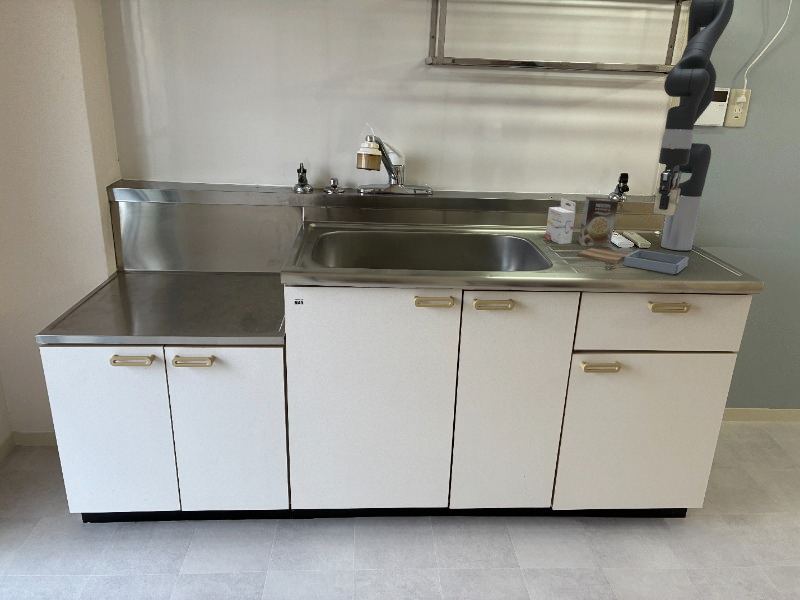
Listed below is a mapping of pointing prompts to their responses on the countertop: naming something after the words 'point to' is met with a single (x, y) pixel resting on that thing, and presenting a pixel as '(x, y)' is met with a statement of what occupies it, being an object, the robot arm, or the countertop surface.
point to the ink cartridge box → (561, 222)
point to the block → (672, 202)
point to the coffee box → (598, 221)
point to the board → (603, 255)
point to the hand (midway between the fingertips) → (665, 208)
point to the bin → (655, 265)
